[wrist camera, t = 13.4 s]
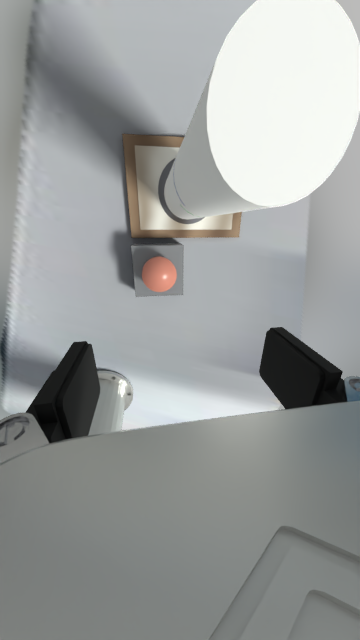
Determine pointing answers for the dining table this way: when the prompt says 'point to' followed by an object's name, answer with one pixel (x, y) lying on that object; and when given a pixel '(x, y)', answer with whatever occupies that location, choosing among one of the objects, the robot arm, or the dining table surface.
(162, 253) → the button housing
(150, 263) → the button
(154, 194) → the sketch board
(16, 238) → the dining table surface
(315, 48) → the cylindrical container
